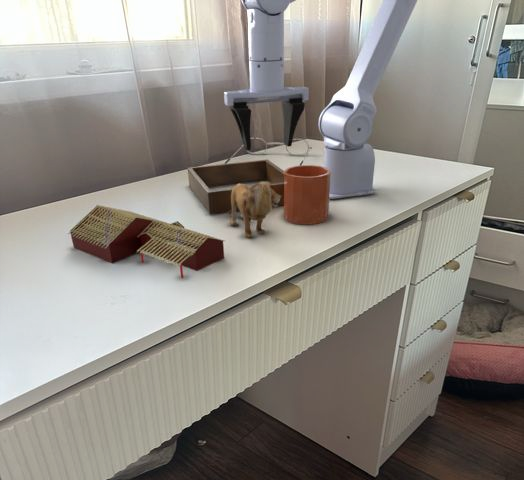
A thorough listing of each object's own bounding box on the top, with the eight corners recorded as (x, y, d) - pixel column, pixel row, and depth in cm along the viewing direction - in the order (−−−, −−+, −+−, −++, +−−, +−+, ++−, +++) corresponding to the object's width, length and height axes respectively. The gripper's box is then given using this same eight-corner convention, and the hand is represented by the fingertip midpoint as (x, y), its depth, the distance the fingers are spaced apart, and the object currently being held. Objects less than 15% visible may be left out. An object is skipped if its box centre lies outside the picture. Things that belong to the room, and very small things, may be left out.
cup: (317, 207, 95) (319, 163, 90) (335, 221, 88) (338, 174, 84) (278, 212, 93) (277, 167, 88) (293, 227, 87) (294, 179, 82)
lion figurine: (284, 238, 82) (285, 182, 77) (256, 245, 80) (255, 188, 75) (240, 213, 93) (237, 162, 88) (214, 219, 91) (210, 167, 86)
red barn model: (226, 256, 77) (224, 222, 74) (163, 287, 69) (158, 250, 66) (134, 226, 88) (129, 195, 85) (70, 248, 80) (62, 215, 77)
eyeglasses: (311, 155, 128) (312, 138, 126) (299, 178, 113) (299, 159, 111) (242, 153, 132) (242, 136, 129) (221, 174, 117) (220, 157, 114)
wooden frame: (268, 178, 112) (267, 159, 110) (299, 203, 97) (299, 181, 95) (189, 187, 107) (187, 167, 105) (209, 214, 93) (207, 192, 90)
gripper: (298, 56, 88) (297, 139, 96) (217, 60, 85) (222, 146, 92) (314, 59, 83) (311, 147, 90) (228, 63, 79) (233, 154, 87)
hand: (267, 147), depth 91 cm, fingers open, 7 cm apart
